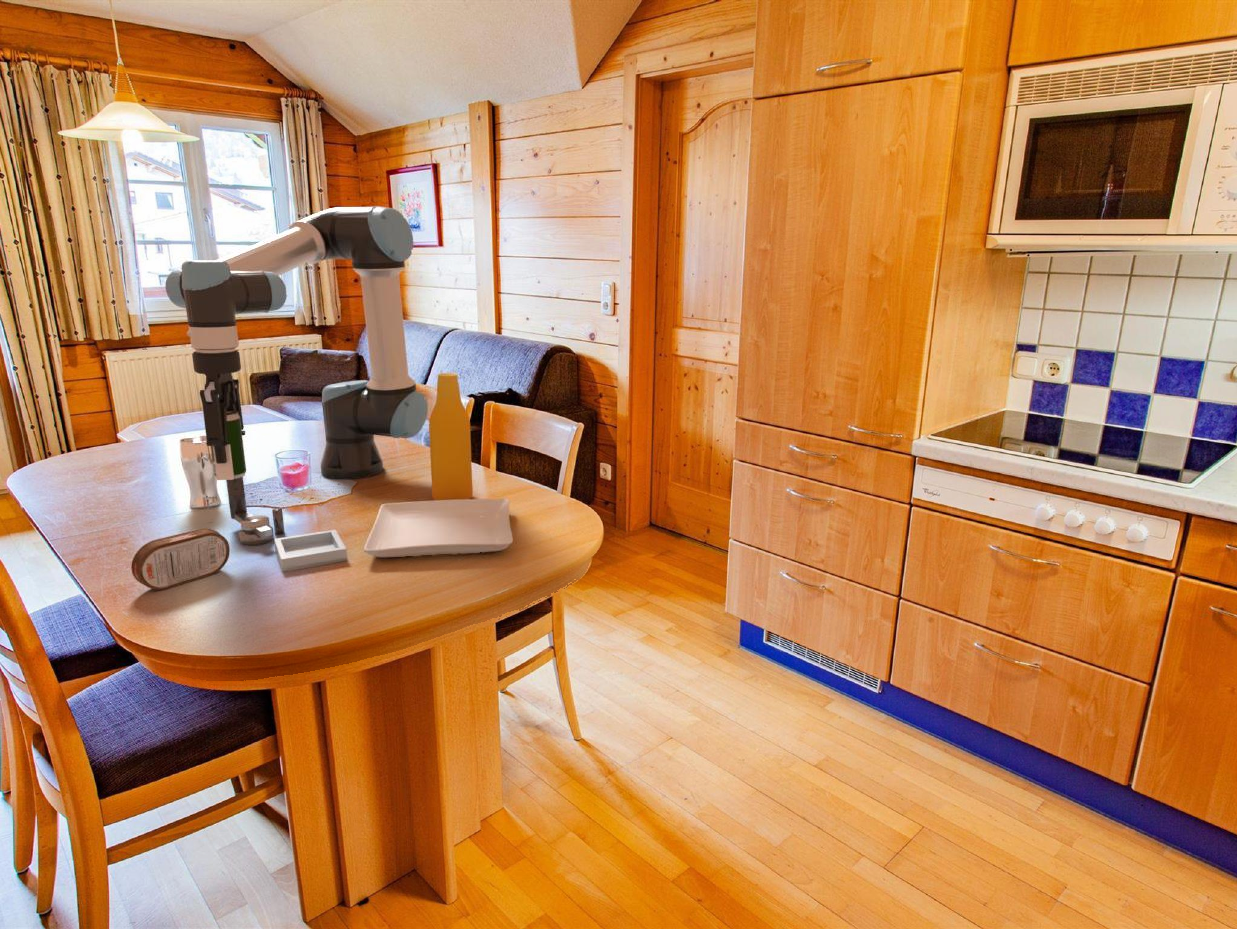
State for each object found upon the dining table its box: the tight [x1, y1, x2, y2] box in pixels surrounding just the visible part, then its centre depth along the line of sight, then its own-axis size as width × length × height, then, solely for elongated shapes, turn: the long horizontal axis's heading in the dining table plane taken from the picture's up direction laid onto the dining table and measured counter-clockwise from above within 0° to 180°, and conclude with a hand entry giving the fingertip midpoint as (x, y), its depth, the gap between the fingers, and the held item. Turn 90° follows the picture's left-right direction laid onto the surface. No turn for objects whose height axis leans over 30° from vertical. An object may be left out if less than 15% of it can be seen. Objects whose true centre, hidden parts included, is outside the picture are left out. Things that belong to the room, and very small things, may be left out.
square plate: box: [363, 498, 514, 558], centre depth 151 cm, size 27×27×4 cm
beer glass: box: [179, 435, 222, 510], centre depth 164 cm, size 7×7×15 cm
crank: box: [225, 476, 272, 537], centre depth 147 cm, size 16×5×9 cm, turn 45°
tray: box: [273, 529, 348, 573], centre depth 140 cm, size 11×11×2 cm
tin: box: [130, 527, 231, 591], centre depth 127 cm, size 15×3×8 cm, turn 142°
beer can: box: [210, 411, 247, 479], centre depth 138 cm, size 5×5×12 cm
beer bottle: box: [428, 372, 474, 501], centre depth 170 cm, size 9×9×29 cm
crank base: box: [238, 507, 285, 547], centre depth 144 cm, size 19×6×5 cm, turn 120°
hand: (231, 474), depth 140 cm, fingers closed on beer can, 5 cm apart
